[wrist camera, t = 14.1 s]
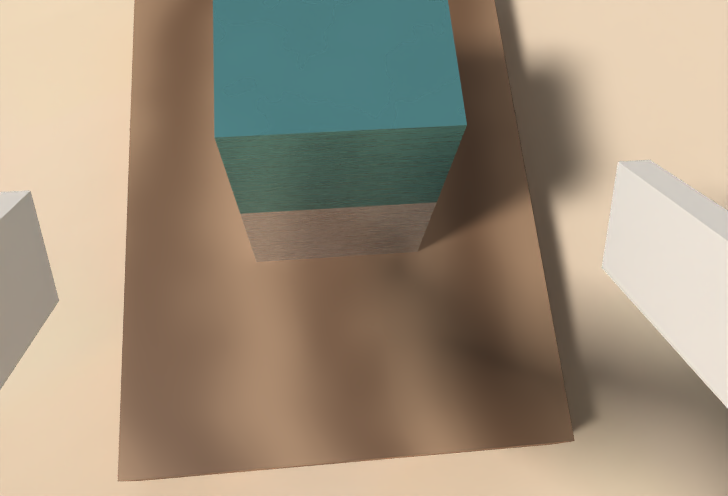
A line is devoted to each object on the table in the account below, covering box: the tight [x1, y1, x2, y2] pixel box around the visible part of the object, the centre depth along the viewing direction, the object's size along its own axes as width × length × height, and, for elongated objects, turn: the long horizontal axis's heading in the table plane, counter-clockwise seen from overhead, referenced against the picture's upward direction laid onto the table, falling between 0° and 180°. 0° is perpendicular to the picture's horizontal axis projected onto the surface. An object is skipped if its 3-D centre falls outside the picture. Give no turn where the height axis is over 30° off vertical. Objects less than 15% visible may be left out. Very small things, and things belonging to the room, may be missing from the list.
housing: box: [213, 0, 467, 262], centre depth 24 cm, size 7×7×11 cm
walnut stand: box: [118, 0, 574, 481], centre depth 31 cm, size 18×24×3 cm
